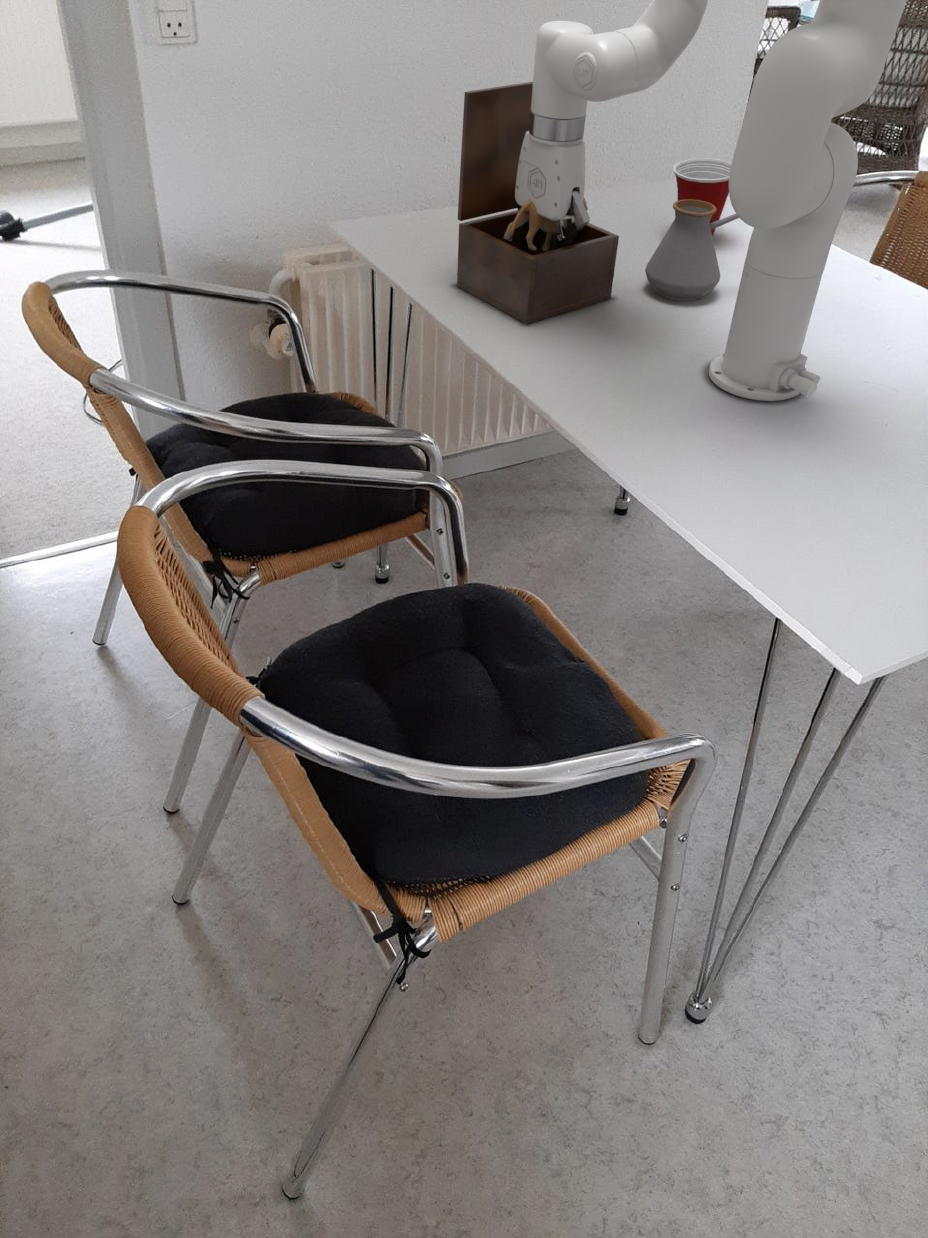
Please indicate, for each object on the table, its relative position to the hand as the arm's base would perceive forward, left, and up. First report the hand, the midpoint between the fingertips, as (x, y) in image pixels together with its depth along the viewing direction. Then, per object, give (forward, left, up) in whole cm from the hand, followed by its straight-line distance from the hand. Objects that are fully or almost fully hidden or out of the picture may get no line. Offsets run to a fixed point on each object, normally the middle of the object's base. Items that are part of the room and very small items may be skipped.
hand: (544, 255), depth 149 cm
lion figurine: (+1, +1, 0) cm, 1 cm away
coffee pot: (-13, -24, -6) cm, 28 cm away
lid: (+9, 0, +12) cm, 15 cm away
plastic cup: (+4, -39, -6) cm, 40 cm away
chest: (+2, 0, -6) cm, 6 cm away
